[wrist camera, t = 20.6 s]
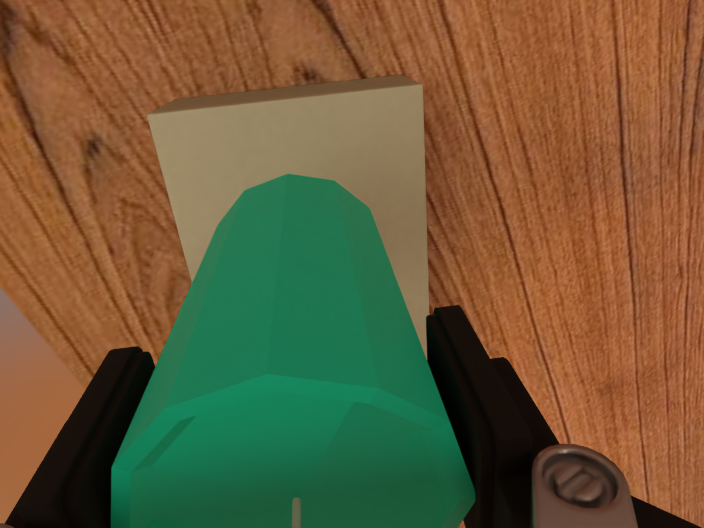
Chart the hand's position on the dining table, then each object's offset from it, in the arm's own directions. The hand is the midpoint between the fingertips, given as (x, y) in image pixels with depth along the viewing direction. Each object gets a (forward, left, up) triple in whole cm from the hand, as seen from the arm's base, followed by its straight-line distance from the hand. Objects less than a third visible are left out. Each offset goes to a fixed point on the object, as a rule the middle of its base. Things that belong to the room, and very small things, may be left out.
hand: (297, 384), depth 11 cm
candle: (0, 0, -7) cm, 7 cm away
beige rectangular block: (0, -4, -18) cm, 19 cm away
